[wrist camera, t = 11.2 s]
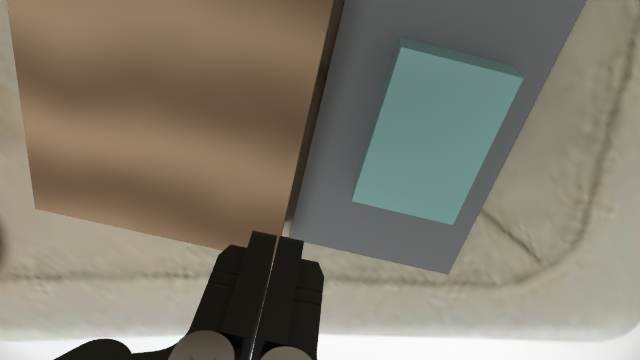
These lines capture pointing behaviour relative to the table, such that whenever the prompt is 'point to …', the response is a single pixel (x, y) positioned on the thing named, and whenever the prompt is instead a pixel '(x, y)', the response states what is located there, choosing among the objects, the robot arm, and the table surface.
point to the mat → (362, 97)
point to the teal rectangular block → (432, 129)
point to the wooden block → (168, 110)
